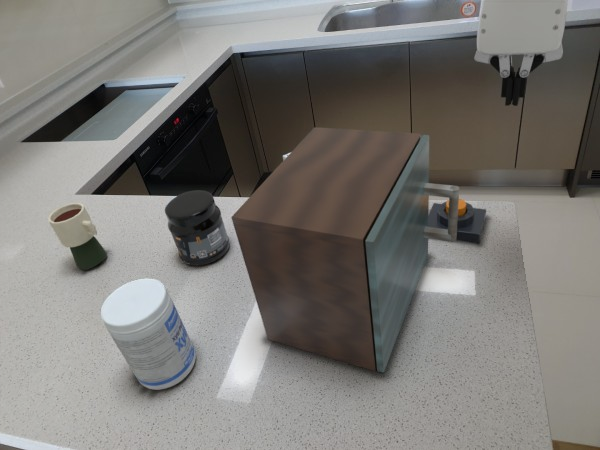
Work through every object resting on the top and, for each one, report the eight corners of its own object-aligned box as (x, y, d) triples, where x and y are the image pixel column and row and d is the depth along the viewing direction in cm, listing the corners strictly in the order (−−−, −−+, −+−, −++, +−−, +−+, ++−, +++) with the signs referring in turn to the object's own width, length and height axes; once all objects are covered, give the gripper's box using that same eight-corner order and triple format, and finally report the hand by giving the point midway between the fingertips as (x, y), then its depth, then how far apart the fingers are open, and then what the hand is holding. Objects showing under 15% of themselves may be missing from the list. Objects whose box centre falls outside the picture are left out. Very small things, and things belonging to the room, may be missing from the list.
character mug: (123, 253, 99) (99, 204, 91) (102, 276, 94) (74, 225, 86) (85, 248, 103) (58, 200, 95) (62, 269, 98) (32, 220, 90)
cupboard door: (457, 260, 81) (465, 137, 67) (420, 384, 63) (420, 250, 49) (422, 254, 84) (422, 134, 70) (377, 371, 66) (365, 240, 52)
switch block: (485, 218, 90) (487, 201, 87) (478, 243, 84) (480, 226, 82) (433, 211, 94) (433, 195, 92) (423, 235, 88) (423, 218, 86)
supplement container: (187, 237, 100) (169, 191, 93) (234, 232, 99) (220, 185, 92) (175, 270, 92) (154, 222, 85) (226, 265, 90) (210, 216, 83)
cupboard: (421, 255, 84) (421, 133, 70) (375, 371, 66) (362, 239, 52) (331, 239, 92) (314, 127, 78) (267, 339, 74) (230, 217, 59)
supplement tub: (205, 371, 71) (175, 305, 62) (145, 404, 68) (105, 338, 59) (186, 332, 78) (157, 267, 69) (131, 359, 75) (94, 295, 66)
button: (467, 207, 87) (467, 199, 86) (463, 218, 85) (464, 210, 84) (447, 204, 89) (448, 197, 88) (443, 215, 86) (444, 207, 85)
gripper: (600, -60, 54) (573, 92, 64) (467, -43, 61) (462, 91, 71) (601, -48, 49) (572, 114, 59) (455, -32, 55) (452, 111, 66)
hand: (512, 101), depth 65 cm, fingers closed
